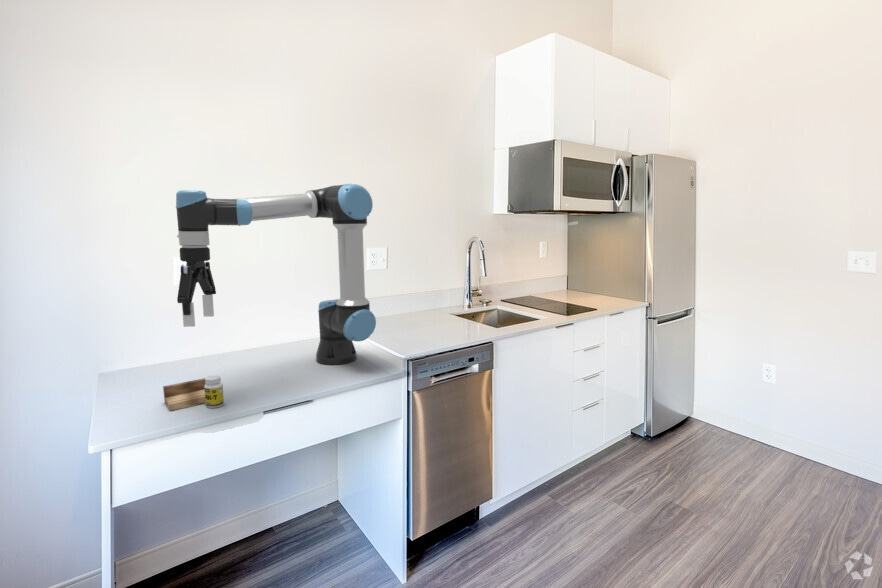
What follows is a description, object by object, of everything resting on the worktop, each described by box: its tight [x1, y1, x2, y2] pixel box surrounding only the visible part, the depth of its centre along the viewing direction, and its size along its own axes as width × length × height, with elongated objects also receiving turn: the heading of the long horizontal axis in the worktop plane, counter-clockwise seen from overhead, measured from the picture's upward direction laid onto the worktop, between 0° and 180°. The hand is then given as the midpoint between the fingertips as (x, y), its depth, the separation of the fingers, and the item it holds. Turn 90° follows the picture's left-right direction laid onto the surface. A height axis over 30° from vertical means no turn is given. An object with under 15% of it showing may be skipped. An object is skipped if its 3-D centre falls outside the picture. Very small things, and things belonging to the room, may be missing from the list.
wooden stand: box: [162, 377, 206, 412], centre depth 141 cm, size 14×8×5 cm, turn 129°
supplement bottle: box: [204, 375, 225, 409], centre depth 137 cm, size 5×5×8 cm
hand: (199, 321), depth 136 cm, fingers open, 13 cm apart
